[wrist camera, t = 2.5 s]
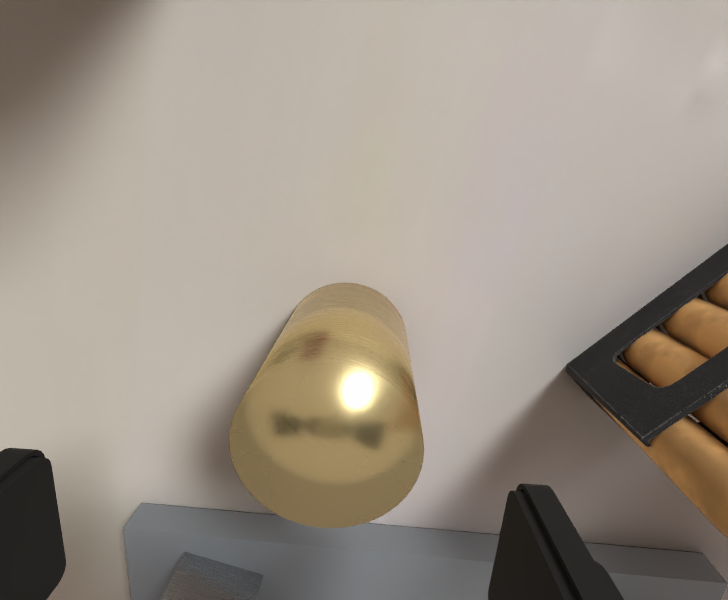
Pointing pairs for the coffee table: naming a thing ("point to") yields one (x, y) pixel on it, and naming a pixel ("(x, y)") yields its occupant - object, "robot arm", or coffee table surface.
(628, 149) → the coffee table surface
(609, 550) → the shaft rig
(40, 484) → the robot arm
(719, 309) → the ammunition clip
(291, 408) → the tan rounded cylinder
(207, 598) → the grey block on rod
